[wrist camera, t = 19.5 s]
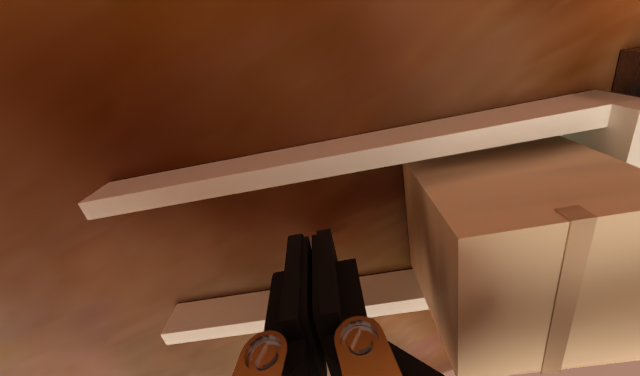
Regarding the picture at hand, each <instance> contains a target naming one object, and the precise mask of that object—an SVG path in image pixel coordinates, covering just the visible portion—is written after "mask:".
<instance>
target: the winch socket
mask: <svg viewBox="0 0 640 376" xmlns="http://www.w3.org/2000/svg"><path fill="white" fill-rule="evenodd" d="M612 93H618V94H623V95H629V96H634V97H640V47H636V48H631V49H626V50H621V52H620V57H619V61H618V66H617V70H616V75H615V79H614V84H613V89H612Z"/></svg>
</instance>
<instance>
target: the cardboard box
mask: <svg viewBox="0 0 640 376" xmlns="http://www.w3.org/2000/svg"><path fill="white" fill-rule="evenodd" d="M403 176H404V188H405V200H406V212H407V223H408V235H409V247H410V259H411V265H412V268H413V270H414V273H415V275H416V278H417V280H418V283H419V285H420V288H421V290H422V293H423V295H424V298H425V300H426V303H427V305H428V308H429V310H430V313H431V315H432V318H433V320H434V323H435V325H436V328H437V330H438V333H439V335H440V338H441V340H442V343H443V345H444V348H445V350H446V353H447V355H448V358H449V360H450V363H451V365H452V368H453V370H454V372H455V375H456V376H506V375H515V374H524V373H531V372H540V373H541V374H545V373H554V372H560V371H561V369H567V368H576V367H584V366H593V365H602V364H611V363H620V362H627V361H637V360H640V168H638V167H636V166H634V165H631V164H629V163H626V162H624V161H621V160H619V159H616V158H614V157H611V156H609V155H606V154H604V153H601V152H599V151H596V150H594V149H591V148H589V147H586V146H584V145H581V144H579V143H576V142H574V141H571V140H569V139H567V138H564V137H562V136H554V137H548V138H543V139H537V140H532V141H526V142H520V143H515V144H509V145H504V146H498V147H493V148H487V149H482V150H476V151H470V152H465V153H459V154H454V155H448V156H443V157H437V158H432V159H426V160H420V161H415V162H409V163H404V164H403Z"/></svg>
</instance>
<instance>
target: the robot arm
mask: <svg viewBox="0 0 640 376" xmlns="http://www.w3.org/2000/svg"><path fill="white" fill-rule="evenodd" d="M326 362H327V365H328V368H329V371H330V375H331V376H444V375H443V374H441V373H439V372H438V371H436V370H435V369H433V368H431V367H430V366H428V365H426V364H425V363H423V362H421V361H420V360H418V359H417V358H415V357H413V356H412V355H410V354H408V353H407V352H405V351H403V350H402V349H400V348H398V347H397V346H395V345H394V344H392V343H390V342H389V341H387V339H386V336H385V334H384V332H383V330H382V328H381V326H380V325H379V324H378V323H377V322H376V321H375V320H373V319H371V318H369V317H367V313H366V308H365V303H364V298H363V293H362V289H361V284H360V279H359V274H358V269H357V264H356V259H349V260H344V261H338V260H337V256H336V251H335V247H334V242H333V238H332V233H331V229H325V230H319V231H317V235H313V236H312V248H311V244H310V241H309V237H308V236H307V237H303V234H298V235H292V236H288V242H287V251H286V261H285V270H284V271H281V272H276V273H273V276H272V281H271V288H270V294H269V300H268V307H267V313H266V319H265V326H264V331H263V332H261V333H259V334H256V335H255V336H253V337H252V338H251V339H249V341H248V342H247V343H246V344H245V345H244V347H243V349H242V351H241V353H240V356H239V358H238V361H237V364H236V367H235V369H234V372H233V375H232V376H327V365H326Z"/></svg>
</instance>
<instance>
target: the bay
mask: <svg viewBox="0 0 640 376" xmlns="http://www.w3.org/2000/svg"><path fill="white" fill-rule="evenodd" d="M554 136H562V137H564V138H567V139H569V140H571V141H574V142H576V143H579V144H581V145H584V146H586V147H589V148H591V149H594V150H596V151H599V152H601V153H604V154H606V155H609V156H611V157H614V158H616V159H619V160H621V161H624V162H626V163H629V164H631V165H634V166H636V167H638V168H640V97H634V96H629V95H623V94H618V93H612V92H607V91H601V90H596V89H595V90H590V91H585V92H580V93H574V94H569V95H564V96H559V97H553V98H548V99H543V100H538V101H532V102H527V103H522V104H517V105H511V106H506V107H501V108H496V109H491V110H485V111H480V112H475V113H470V114H464V115H459V116H454V117H449V118H443V119H438V120H433V121H428V122H422V123H417V124H412V125H407V126H401V127H396V128H391V129H386V130H380V131H375V132H370V133H365V134H359V135H354V136H349V137H344V138H339V139H333V140H328V141H323V142H318V143H312V144H307V145H302V146H297V147H291V148H286V149H281V150H276V151H270V152H265V153H260V154H255V155H249V156H244V157H239V158H234V159H228V160H223V161H218V162H213V163H207V164H202V165H197V166H192V167H187V168H181V169H176V170H171V171H166V172H160V173H155V174H150V175H145V176H139V177H134V178H129V179H124V180H118V181H113V182H109V183H107V184H106V185H104V186H103V187H101V188H100V189H98V190H97V191H95V192H94V193H92V194H91V195H89V196H88V197H86V198H85V199H83V200H82V201H80V202H79V203H77V204H78V205H79V207H80V208H81V210H82V212H83V213H84V215H85V216H86V218H87V220H92V219H98V218H103V217H109V216H115V215H120V214H126V213H131V212H137V211H142V210H148V209H153V208H159V207H165V206H170V205H176V204H181V203H187V202H192V201H198V200H204V199H209V198H215V197H220V196H226V195H231V194H237V193H242V192H248V191H254V190H259V189H265V188H270V187H276V186H281V185H287V184H292V183H298V182H304V181H309V180H315V179H320V178H326V177H331V176H337V175H343V174H348V173H354V172H359V171H365V170H370V169H376V168H381V167H387V166H393V165H398V164H404V163H409V162H415V161H420V160H426V159H432V158H437V157H443V156H448V155H454V154H459V153H465V152H470V151H476V150H482V149H487V148H493V147H498V146H504V145H509V144H515V143H520V142H526V141H532V140H537V139H543V138H548V137H554ZM359 279H360V284H361V289H362V293H363V298H364V303H365V308H366V313H367V317H376V316H383V315H391V314H398V313H405V312H413V311H420V310H427V309H429V308H428V305H427V303H426V300H425V298H424V295H423V293H422V290H421V288H420V285H419V283H418V280H417V278H416V275H415V273H414V270H413V269H409V270H402V271H395V272H389V273H382V274H375V275H368V276H362V277H359ZM269 294H270V290H267V291H261V292H254V293H247V294H240V295H234V296H227V297H220V298H214V299H207V300H200V301H193V302H187V303H180V304H177V305H176V307H175V309H174V310H173V312H172V314H171V316H170V318H169V320H168V321H167V323H166V325H165V327H164V329H163V331H162V332H161V334H160V335H161V337H162V338H163V340H164V341H165V343H166V345H170V344H178V343H185V342H192V341H200V340H207V339H214V338H222V337H229V336H236V335H244V334H251V333H258V332H263V331H264V326H265V319H266V313H267V307H268V300H269Z"/></svg>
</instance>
